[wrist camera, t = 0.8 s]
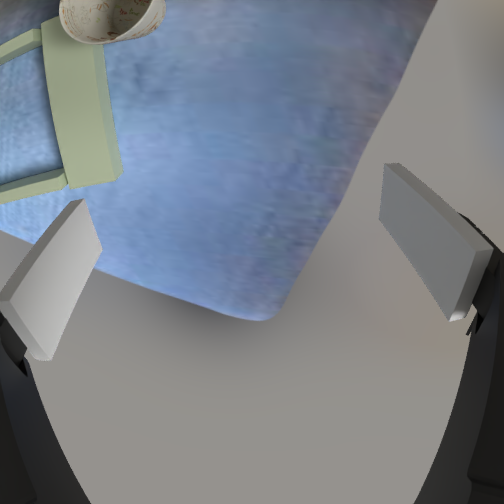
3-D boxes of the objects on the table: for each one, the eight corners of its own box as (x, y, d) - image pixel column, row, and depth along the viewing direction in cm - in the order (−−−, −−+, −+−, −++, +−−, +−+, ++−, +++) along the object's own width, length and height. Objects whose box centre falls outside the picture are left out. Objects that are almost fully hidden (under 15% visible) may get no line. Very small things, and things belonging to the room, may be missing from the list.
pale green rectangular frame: (-36, 73, 23) (-55, 78, 19) (100, 7, 23) (85, 2, 20) (-8, 201, 34) (-23, 214, 30) (123, 171, 34) (112, 184, 31)
